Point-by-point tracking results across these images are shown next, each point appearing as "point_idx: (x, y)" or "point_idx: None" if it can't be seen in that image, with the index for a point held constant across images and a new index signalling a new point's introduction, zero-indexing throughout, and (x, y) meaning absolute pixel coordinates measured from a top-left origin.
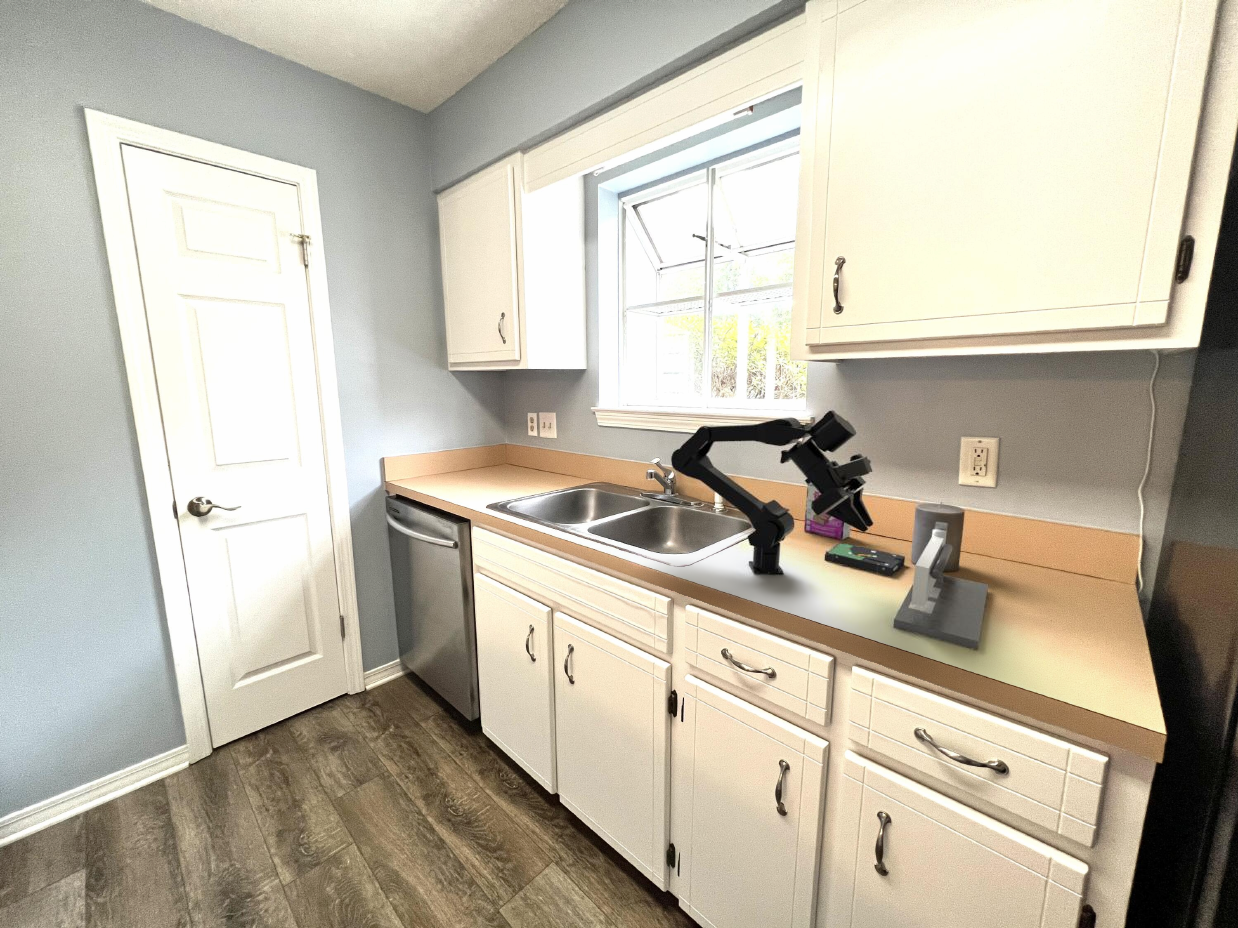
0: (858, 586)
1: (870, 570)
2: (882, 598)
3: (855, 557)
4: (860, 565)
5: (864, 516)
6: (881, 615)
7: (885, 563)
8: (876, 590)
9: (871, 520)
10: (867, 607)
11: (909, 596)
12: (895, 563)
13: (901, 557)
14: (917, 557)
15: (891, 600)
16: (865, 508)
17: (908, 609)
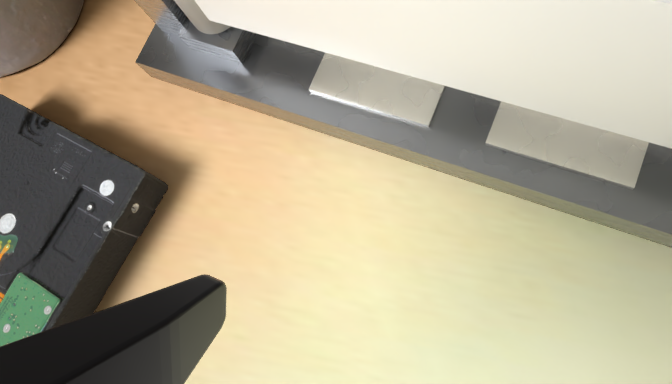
0: (322, 357)
1: (118, 262)
2: (442, 270)
3: (26, 321)
4: (86, 304)
5: (135, 379)
6: (665, 315)
7: (90, 190)
8: (350, 279)
9: (188, 294)
10: (589, 365)
11: (470, 157)
12: (88, 147)
13: (11, 109)
14: (6, 48)
15: (453, 234)
16: (8, 364)
17: (644, 190)
